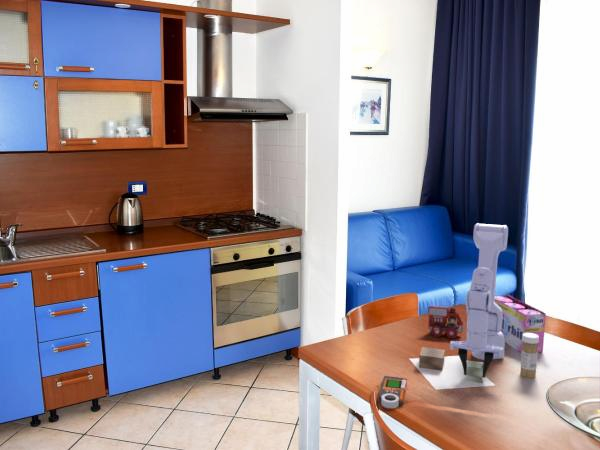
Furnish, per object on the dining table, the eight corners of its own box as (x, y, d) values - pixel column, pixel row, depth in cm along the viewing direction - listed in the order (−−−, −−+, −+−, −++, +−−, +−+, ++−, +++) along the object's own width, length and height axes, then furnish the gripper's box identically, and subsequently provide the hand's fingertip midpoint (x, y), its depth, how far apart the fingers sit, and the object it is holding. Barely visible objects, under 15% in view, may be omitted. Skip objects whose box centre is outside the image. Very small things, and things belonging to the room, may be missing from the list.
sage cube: (482, 376, 165) (483, 362, 165) (482, 383, 161) (482, 368, 160) (466, 374, 167) (467, 360, 166) (465, 380, 163) (466, 366, 162)
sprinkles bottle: (532, 374, 169) (535, 332, 167) (538, 381, 164) (541, 337, 162) (516, 374, 169) (519, 332, 167) (523, 381, 164) (526, 337, 162)
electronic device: (377, 399, 148) (384, 373, 162) (377, 409, 149) (384, 383, 163) (403, 402, 147) (407, 376, 161) (402, 413, 147) (407, 386, 161)
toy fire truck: (462, 339, 197) (463, 311, 196) (426, 336, 201) (427, 308, 199) (462, 333, 204) (463, 305, 202) (427, 330, 207) (428, 303, 205)
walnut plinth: (444, 361, 176) (444, 349, 175) (442, 370, 170) (442, 358, 169) (421, 358, 178) (422, 347, 178) (419, 367, 172) (419, 355, 171)
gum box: (484, 329, 208) (486, 294, 206) (503, 328, 209) (506, 293, 207) (522, 354, 185) (525, 314, 183) (543, 352, 186) (547, 313, 184)
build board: (461, 357, 181) (461, 355, 181) (495, 387, 160) (495, 385, 160) (408, 361, 179) (408, 358, 178) (435, 392, 157) (435, 389, 157)
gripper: (450, 332, 160) (448, 376, 162) (503, 338, 156) (500, 384, 158) (452, 324, 167) (449, 367, 169) (503, 330, 162) (500, 374, 164)
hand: (474, 374), depth 164 cm, fingers closed on sage cube, 4 cm apart
